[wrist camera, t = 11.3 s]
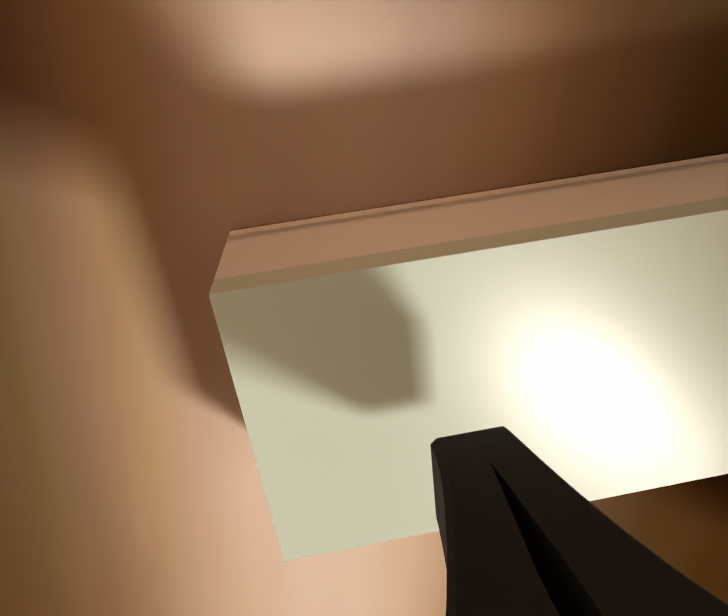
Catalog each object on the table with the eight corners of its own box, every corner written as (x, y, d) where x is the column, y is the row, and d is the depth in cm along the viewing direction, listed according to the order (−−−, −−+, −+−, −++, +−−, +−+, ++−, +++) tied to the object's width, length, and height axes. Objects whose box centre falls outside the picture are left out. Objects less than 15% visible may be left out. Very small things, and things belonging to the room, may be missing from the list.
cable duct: (987, 112, 14) (1160, 126, 11) (894, 339, 17) (1010, 393, 14) (230, 231, 12) (213, 279, 10) (285, 452, 15) (284, 535, 13)
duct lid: (1159, 127, 11) (1212, 130, 10) (1013, 394, 14) (1046, 410, 13) (213, 279, 10) (209, 294, 9) (284, 537, 13) (284, 561, 12)
